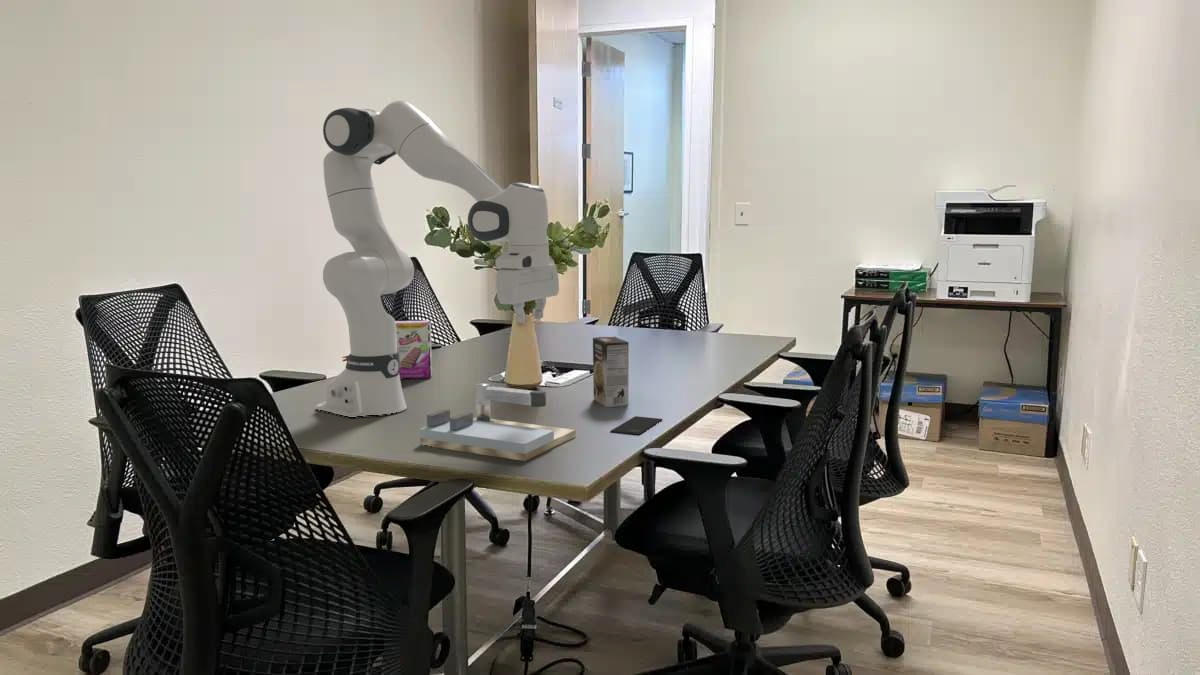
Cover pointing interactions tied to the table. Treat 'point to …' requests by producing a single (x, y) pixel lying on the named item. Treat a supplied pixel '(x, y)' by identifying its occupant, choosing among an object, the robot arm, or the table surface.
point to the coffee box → (610, 371)
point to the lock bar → (504, 398)
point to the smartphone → (636, 426)
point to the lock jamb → (491, 436)
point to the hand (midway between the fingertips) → (530, 320)
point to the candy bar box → (414, 349)
